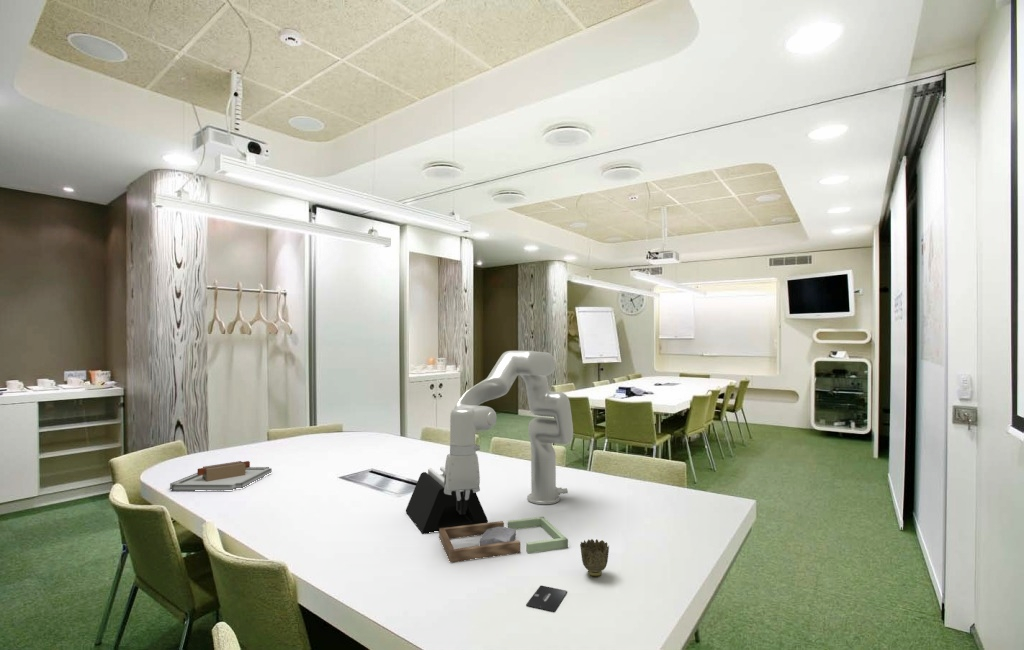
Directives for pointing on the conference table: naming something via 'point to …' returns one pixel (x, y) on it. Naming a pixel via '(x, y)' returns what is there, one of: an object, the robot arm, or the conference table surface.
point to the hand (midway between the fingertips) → (461, 512)
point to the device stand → (440, 505)
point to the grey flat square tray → (221, 477)
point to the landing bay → (544, 545)
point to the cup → (594, 556)
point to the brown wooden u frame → (475, 551)
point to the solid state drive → (547, 598)
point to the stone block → (498, 535)
